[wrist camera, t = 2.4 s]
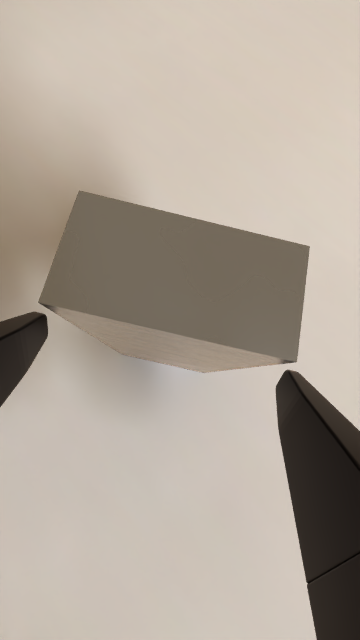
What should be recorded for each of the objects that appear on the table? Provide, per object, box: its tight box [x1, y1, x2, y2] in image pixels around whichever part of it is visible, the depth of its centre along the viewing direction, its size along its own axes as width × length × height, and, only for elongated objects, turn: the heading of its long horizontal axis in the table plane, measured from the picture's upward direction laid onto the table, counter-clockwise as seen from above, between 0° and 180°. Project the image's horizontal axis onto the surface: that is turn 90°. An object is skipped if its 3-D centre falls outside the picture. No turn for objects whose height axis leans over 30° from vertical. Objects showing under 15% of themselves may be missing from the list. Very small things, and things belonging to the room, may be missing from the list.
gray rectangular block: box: [38, 191, 310, 373], centre depth 12 cm, size 3×6×13 cm, turn 77°
